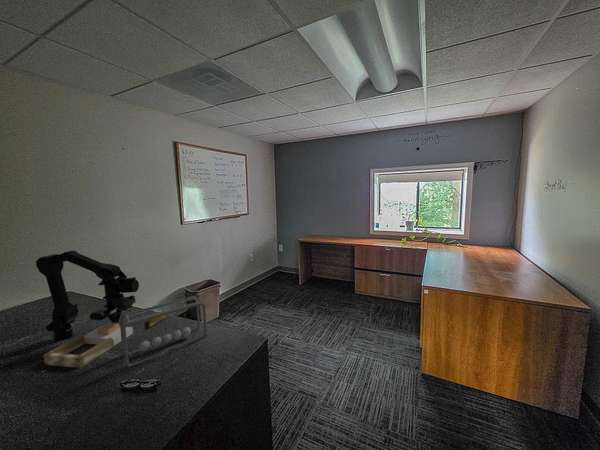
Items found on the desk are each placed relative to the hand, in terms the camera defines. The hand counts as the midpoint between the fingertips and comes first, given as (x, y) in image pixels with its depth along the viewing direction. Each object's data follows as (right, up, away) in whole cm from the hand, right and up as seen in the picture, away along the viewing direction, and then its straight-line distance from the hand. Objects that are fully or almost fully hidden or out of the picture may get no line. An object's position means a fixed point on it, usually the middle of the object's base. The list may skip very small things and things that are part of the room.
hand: (116, 324), depth 114 cm
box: (-2, -6, -16) cm, 17 cm away
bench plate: (-1, -4, -4) cm, 6 cm away
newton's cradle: (+31, -5, -12) cm, 33 cm away
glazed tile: (-1, -1, -4) cm, 4 cm away
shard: (+16, -4, +7) cm, 18 cm away
